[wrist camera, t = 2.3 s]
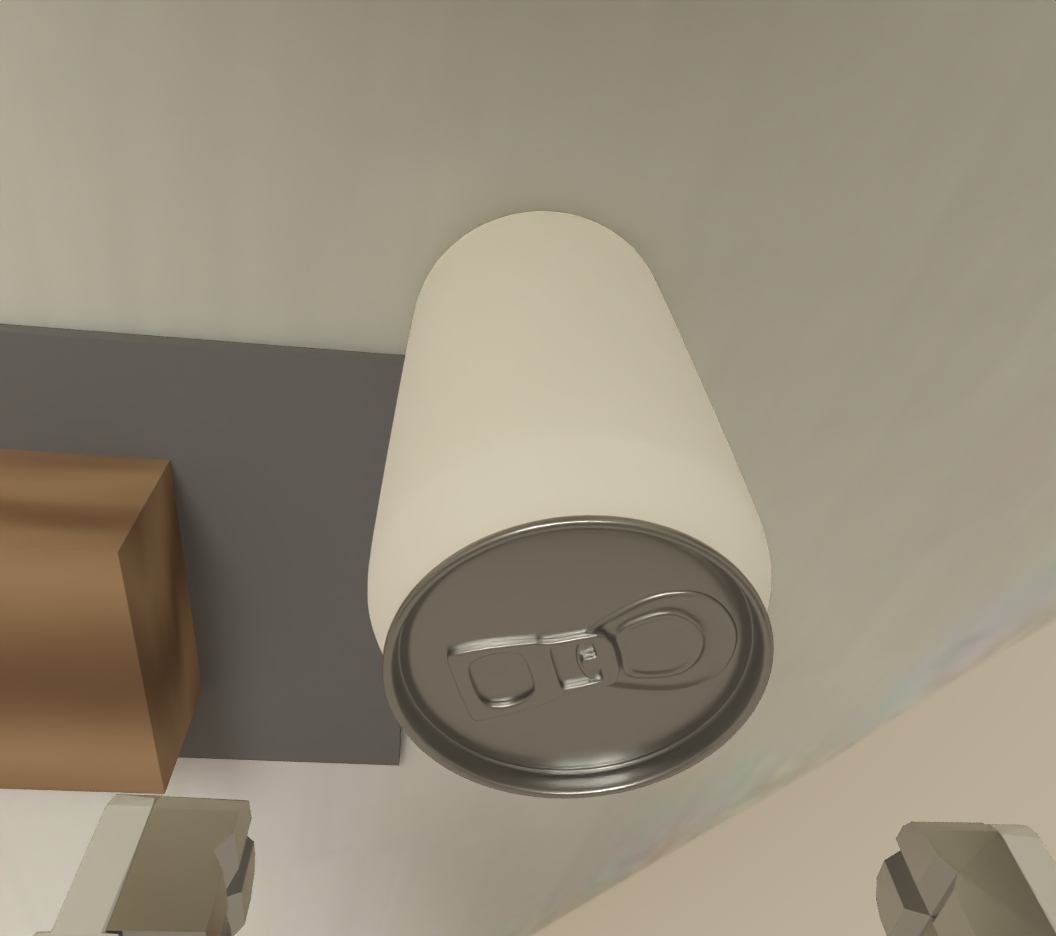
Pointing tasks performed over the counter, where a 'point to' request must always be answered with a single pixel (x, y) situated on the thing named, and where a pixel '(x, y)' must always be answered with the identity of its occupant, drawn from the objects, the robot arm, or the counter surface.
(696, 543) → the can
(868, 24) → the counter surface
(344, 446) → the mat
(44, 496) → the plinth
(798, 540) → the counter surface
